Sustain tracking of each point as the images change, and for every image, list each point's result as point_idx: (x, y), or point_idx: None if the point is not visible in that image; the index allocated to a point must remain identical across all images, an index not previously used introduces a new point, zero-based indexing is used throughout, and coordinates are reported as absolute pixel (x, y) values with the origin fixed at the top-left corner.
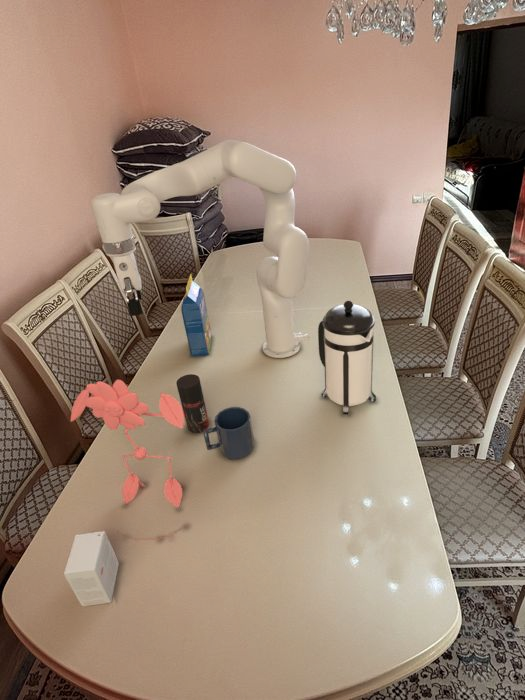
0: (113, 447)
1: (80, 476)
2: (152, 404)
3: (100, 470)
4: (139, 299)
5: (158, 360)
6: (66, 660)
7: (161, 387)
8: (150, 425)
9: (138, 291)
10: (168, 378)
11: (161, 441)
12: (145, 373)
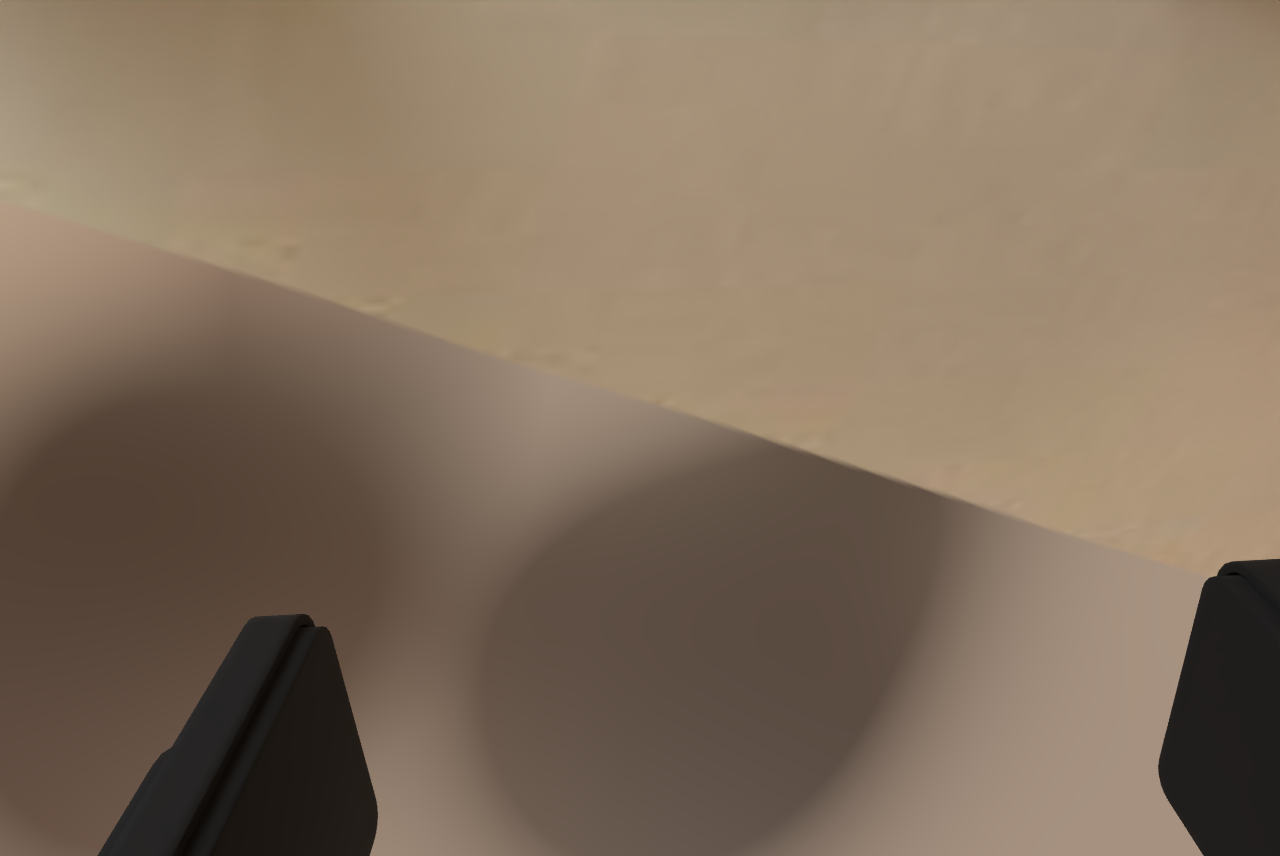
0: (1121, 444)
1: None
2: (798, 226)
3: (1271, 492)
4: (319, 650)
5: (189, 185)
6: None
7: (602, 159)
8: (1030, 236)
9: (240, 821)
10: (489, 99)
11: (1235, 159)
12: (371, 288)
